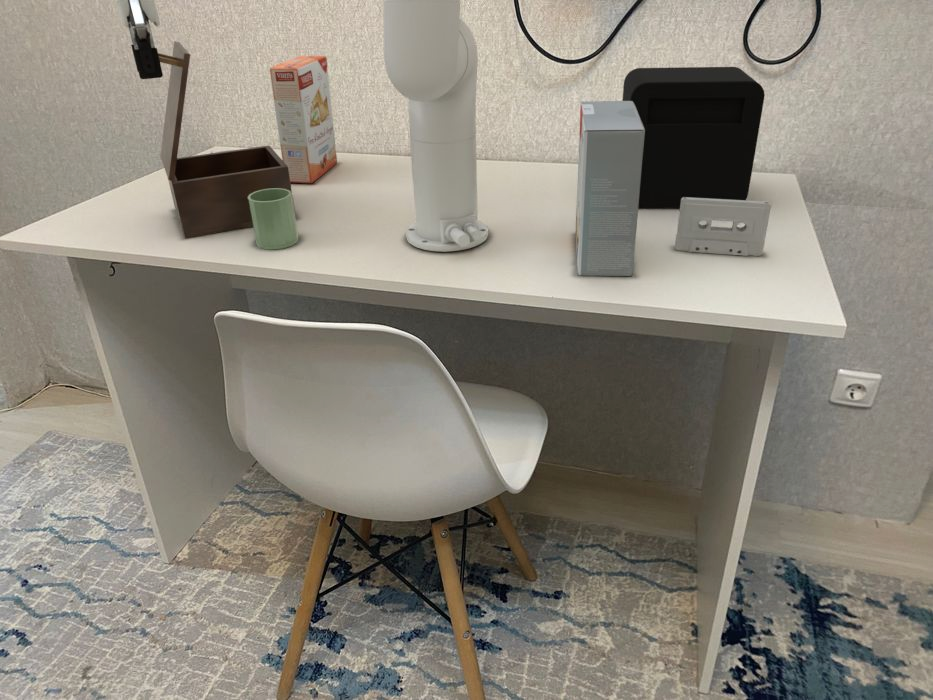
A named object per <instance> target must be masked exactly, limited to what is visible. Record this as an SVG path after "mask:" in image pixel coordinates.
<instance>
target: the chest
mask: <svg viewBox="0 0 933 700" xmlns="http://www.w3.org/2000/svg"><path fill="white" fill-rule="evenodd" d="M231 150H232V151H227V150H224V151H225V152H219V151H217V152H218V153H215V152H213V153H203V154H196V155H189V156H181V157H177V162H176V170H175V177H174V181H171V180H168V179H167V180H168V184H169V189H170V193H171V197H172V201H173V206H174V210H175V213H176V216H177V220H178V222H179V225H180V228H181V231H182V234H183V237H184V239H189V238H193V237H194V238H195V237H200V236H206V235H211V234H219V233H223V232H230V231H235V230H241V229H246V228H253V225H252V219H251V214H250V209H249V203H248V198H247V197H248V196H249V194H251V193H253V192H255V191H259V190H263V189H270V188H281V189H287V190H290V191H291V193H292V194H293V191H292V185H291V183H292V182H290V177H289V170H288V166H287V165H286V164H285V163H284V162H283V160H282V157H280V156H279V155H278V153H277V152H276V151H275V150H274V149H273V148H272V147H271V145H263V146H255V147H247V148H242V149H231ZM292 198H293V199H294V196H293V195H292ZM293 205H294V206H295V203H294V202H293ZM294 211H295V212H296V210H295V209H294ZM295 218H296V219H297V215H295Z"/></svg>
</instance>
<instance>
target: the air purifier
mask: <svg viewBox="0 0 933 700" xmlns="http://www.w3.org/2000/svg"><path fill="white" fill-rule="evenodd" d="M622 88H623V89H622V100H621V101H633V103H634V104H635V106H636V109H637V111H638V114H639V116H640V119H641V121H642V124H643V126H644V129H645V136H644V147H643V157H642V169H641V181H640V193H639V204H638V209H680V204H681V198H683V197H691V198H709V199H727V200H746V201H747V199H748V197H749V192H750V186H751V179H752V175H753V167H754V162H755V155H756V149H757V144H758V139H759V133H760V126H761V120H762V114H763V107H764V102H765V89H764V87H763V86H762V85H761V84H760V83H759V82H758V81H756V80H755V79H754V78H753V77H752V76H750V75H749V74H748V73H746V72H745V71H744V70H742V69H741V68H740V67H737V66H694V67H692V66H689V67H685V66H684V67H683V66H681V67H636V68H633V69H632V70H630V71H629V72H628V73H627V74H626V76H625V78H624V80H623V87H622Z"/></svg>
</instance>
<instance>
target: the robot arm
mask: <svg viewBox="0 0 933 700" xmlns="http://www.w3.org/2000/svg"><path fill="white" fill-rule="evenodd" d="M114 3H115V6H116V9H117V11H118V14H119V18H120V20H121V22H122V24H123V26H124V27H125V28H127V29H128V31H129V34H130V39H131V43H132V44H131V45H130V46H131V50H132V54H133V58H134V63H135V66H136V70H137V73H138V76H139V78H140V79H141V80H151V79H159V78H163V76H164V75H163V69H162V65H161V62H160V60H159V56H158V53H159V51H158V48H157V47H156V45H155V41H154V37H153V34H152V28H151V25H150V23H153V24H154V26H155V27H158V26H159V25H160V24H161V22H160V18H159V14H158V9H157V5H156V1H155V0H114ZM382 4H383V56H384V57H383V60H384V67H385V70H386V73H387V77H388V79H389V81H390V83H391V85H392V86H393V87H394V88H395V89H396V91H397V92H398V93H399V94H400V95H401V96H403V97H404V98H407V99H408V125H409V126H408V127H409V142H410V143H409V144H410V158H411V159H410V160H411V173H412V188H413V201H414V202H413V203H414V216H415V218H414V219H415V222H414V223H412V224H410V226H408V227H407V229H406V234H405V235H406V241H407V242H408V244H409V245H411V246H413V247H415V248H417V249H420V250H423V251H428V252H439V253H440V252H441V253H443V252H445V253H448V252H457V251H464V250H468V249H472V248H474V247H477V246H480V245H482V244H483V243H484V242H485V241H487V239H488V238H489V227H488V225H486V223H484V222H483V221H481V220H480V219H479V213H478V212H479V211H478V210H479V209H478V208H479V207H478V170H477V169H478V165H477V115H476V114H477V111H476V110H477V109H476V107H477V84H478V83H477V82H478V81H477V80H478V66H479V65H478V64H479V63H478V46H477V42H476V39H475V35H474V34H473V31H472V30H471V28H470V26H469V25H468V24H467V23H466V22H465V21H464V20H463V19H462V18H460V17H461V0H383V3H382Z"/></svg>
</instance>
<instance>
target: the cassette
mask: <svg viewBox="0 0 933 700" xmlns="http://www.w3.org/2000/svg"><path fill="white" fill-rule="evenodd" d="M771 210H772V205H771V202H770V201H763V200H761V201H760V200H747V199H746V200H727V199H709V198H691V197H683V198H681V204H680V208H679V211H678V212H679V213H678V221H677V229H676V234H675V242H674V248H675V250H676V251H683V252H686V251H687V252H690V253H702V254H703V253H704V254H715V255H730V256H731V255H732V256H733V255H734V256H744V257H749V256H755V257H760V256H761V257H762V255H763V254H764V249H765V248H764V247H765V242H766V236H767V231H768V225H769V221H770V220H769V219H770V213H771ZM704 221H705V222H706V223H705V224H701V223H700V222H704ZM713 221H718V222H731V223H732V224H731V225H732V226H731V227H724V226H712V222H713ZM739 224H744V226H740V227H739V226H738V225H739Z"/></svg>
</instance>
